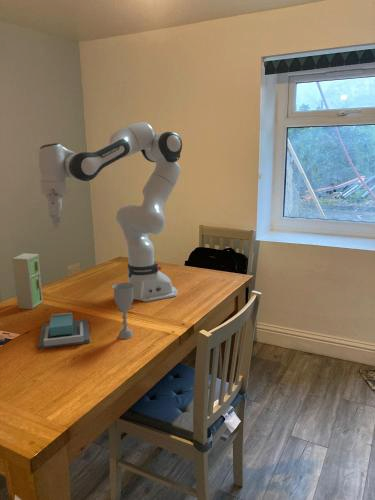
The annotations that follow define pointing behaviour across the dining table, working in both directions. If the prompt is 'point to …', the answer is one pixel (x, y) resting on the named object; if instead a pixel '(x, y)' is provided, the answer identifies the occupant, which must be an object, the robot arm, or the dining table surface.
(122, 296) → the chalice
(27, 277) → the toy refrigerator
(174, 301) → the dining table surface
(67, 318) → the teal handled box
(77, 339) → the loading dock
